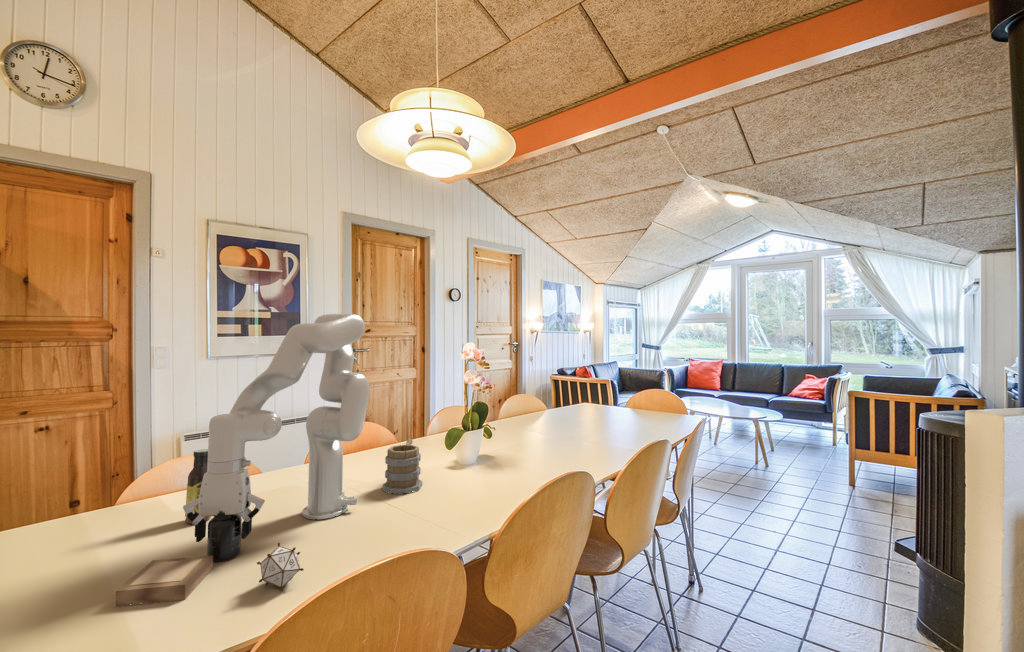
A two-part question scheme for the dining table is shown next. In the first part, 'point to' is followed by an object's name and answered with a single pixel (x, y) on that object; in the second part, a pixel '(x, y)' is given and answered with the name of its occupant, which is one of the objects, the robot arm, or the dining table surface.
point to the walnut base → (165, 580)
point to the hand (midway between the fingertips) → (223, 538)
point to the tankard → (403, 468)
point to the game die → (280, 566)
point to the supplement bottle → (224, 537)
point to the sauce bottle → (196, 479)
